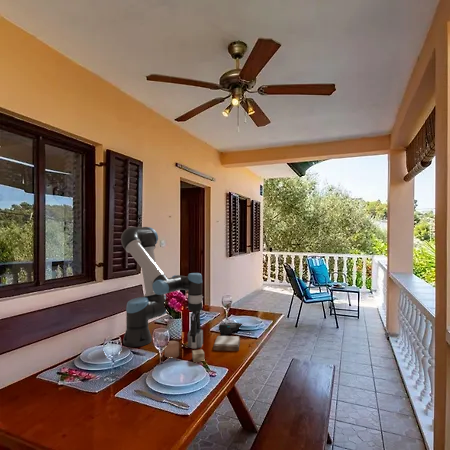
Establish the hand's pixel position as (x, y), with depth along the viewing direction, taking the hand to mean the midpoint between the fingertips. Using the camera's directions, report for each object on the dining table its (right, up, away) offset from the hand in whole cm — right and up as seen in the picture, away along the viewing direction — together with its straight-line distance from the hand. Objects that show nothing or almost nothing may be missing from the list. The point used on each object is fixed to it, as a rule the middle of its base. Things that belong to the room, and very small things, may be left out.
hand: (195, 344), depth 166 cm
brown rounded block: (-11, 0, -13) cm, 17 cm away
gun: (+19, -1, +19) cm, 27 cm away
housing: (0, 0, 0) cm, 0 cm away
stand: (+17, 0, -1) cm, 17 cm away
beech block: (+3, 0, -18) cm, 19 cm away
